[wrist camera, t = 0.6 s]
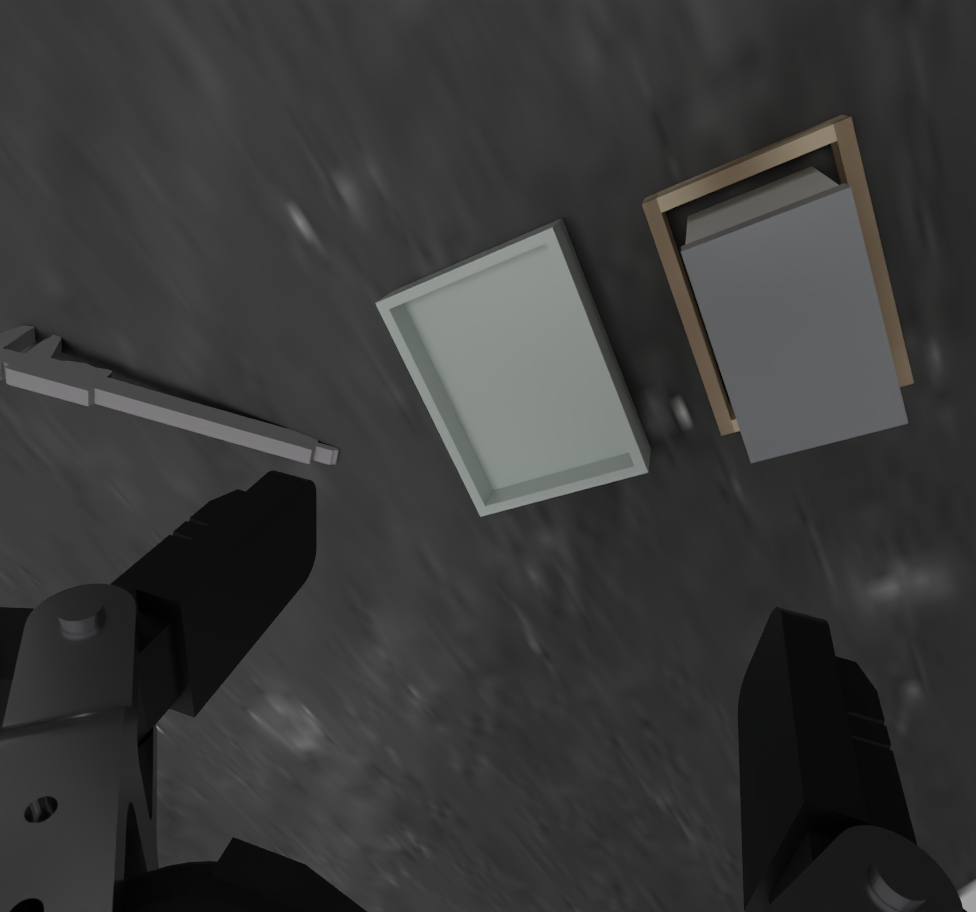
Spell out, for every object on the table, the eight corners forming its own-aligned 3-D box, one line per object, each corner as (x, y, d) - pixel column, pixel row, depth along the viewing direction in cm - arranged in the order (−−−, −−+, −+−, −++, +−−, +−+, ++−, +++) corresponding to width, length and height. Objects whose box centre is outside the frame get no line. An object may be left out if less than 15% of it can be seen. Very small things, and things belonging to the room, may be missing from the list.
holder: (841, 114, 27) (851, 116, 26) (901, 366, 31) (914, 383, 29) (645, 197, 30) (642, 204, 29) (720, 418, 34) (721, 435, 32)
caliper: (31, 338, 43) (-64, 374, 38) (30, 321, 42) (-67, 356, 37) (339, 461, 41) (285, 517, 36) (342, 445, 41) (288, 500, 35)
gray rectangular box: (813, 162, 28) (850, 187, 21) (861, 348, 31) (908, 423, 24) (684, 214, 30) (680, 252, 23) (740, 384, 33) (751, 463, 26)
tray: (562, 217, 32) (552, 227, 29) (651, 448, 35) (648, 472, 33) (395, 289, 35) (375, 303, 33) (492, 492, 39) (480, 516, 37)
